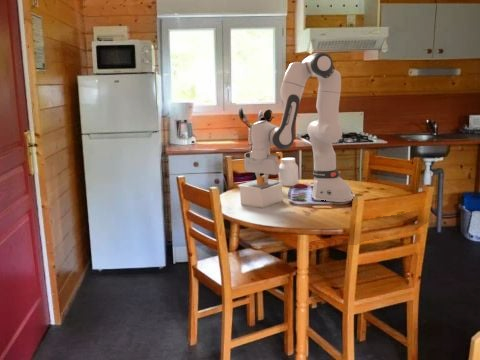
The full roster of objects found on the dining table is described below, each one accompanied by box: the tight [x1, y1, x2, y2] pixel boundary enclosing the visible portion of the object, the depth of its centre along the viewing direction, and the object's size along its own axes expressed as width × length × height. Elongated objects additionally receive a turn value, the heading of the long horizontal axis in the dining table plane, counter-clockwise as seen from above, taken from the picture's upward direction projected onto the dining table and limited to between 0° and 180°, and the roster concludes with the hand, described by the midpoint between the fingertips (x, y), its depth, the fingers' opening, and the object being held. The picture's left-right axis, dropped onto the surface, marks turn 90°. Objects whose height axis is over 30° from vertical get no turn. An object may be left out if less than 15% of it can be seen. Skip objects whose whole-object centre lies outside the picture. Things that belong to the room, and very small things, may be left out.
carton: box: [237, 178, 284, 209], centre depth 239 cm, size 14×18×10 cm
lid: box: [236, 175, 279, 188], centre depth 239 cm, size 14×16×5 cm
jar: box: [278, 157, 300, 187], centre depth 278 cm, size 12×10×15 cm
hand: (262, 181), depth 237 cm, fingers closed
